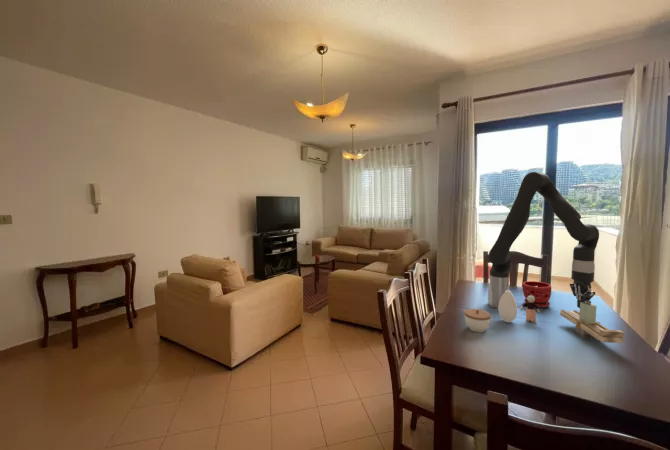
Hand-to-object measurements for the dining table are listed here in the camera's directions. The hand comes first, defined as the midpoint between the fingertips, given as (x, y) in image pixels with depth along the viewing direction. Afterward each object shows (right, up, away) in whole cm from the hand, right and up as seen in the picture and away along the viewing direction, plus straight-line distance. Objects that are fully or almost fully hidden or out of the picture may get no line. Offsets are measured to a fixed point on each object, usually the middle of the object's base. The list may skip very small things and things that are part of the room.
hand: (580, 307), depth 125 cm
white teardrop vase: (-25, -11, +12) cm, 30 cm away
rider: (-1, -5, -4) cm, 6 cm away
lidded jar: (-44, -12, +5) cm, 46 cm away
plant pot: (+3, -8, +33) cm, 34 cm away
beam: (-1, -11, -4) cm, 12 cm away
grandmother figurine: (-14, -10, +12) cm, 21 cm away
